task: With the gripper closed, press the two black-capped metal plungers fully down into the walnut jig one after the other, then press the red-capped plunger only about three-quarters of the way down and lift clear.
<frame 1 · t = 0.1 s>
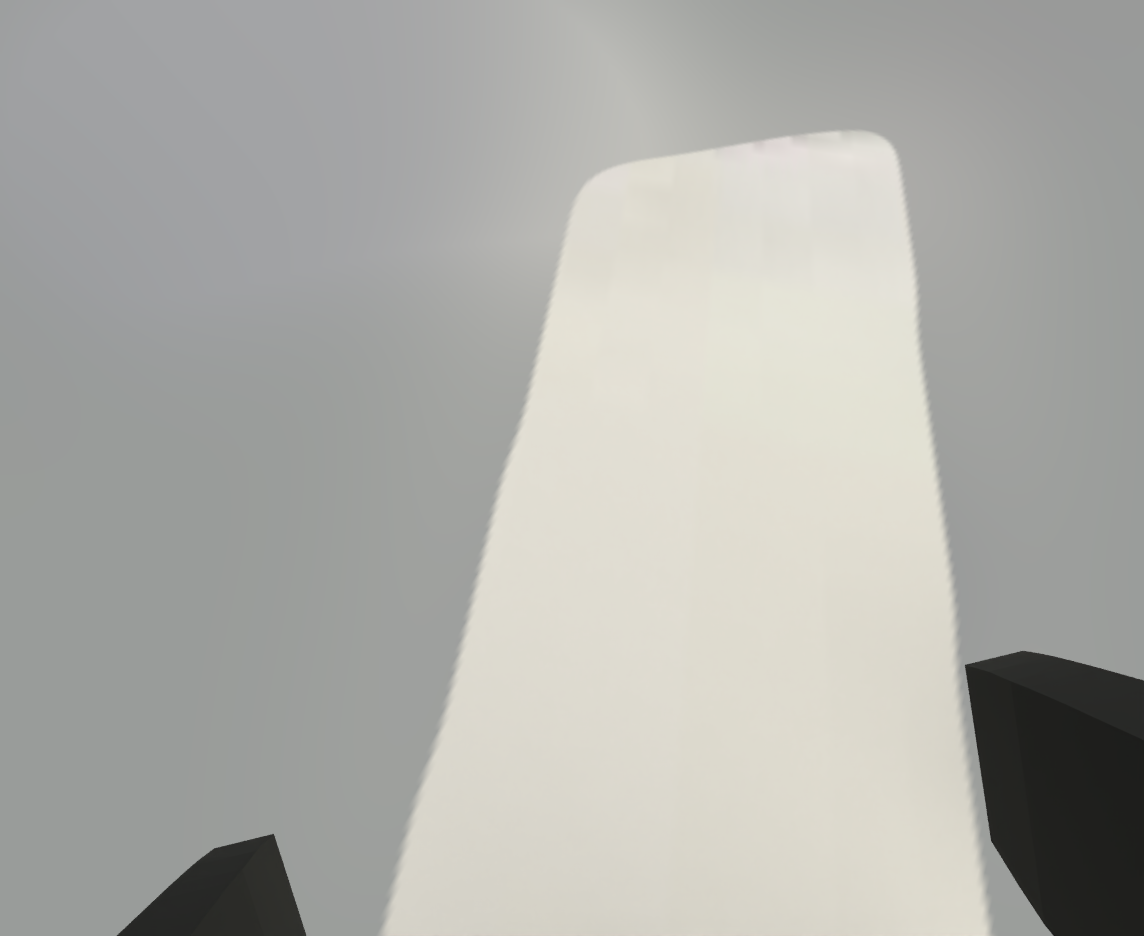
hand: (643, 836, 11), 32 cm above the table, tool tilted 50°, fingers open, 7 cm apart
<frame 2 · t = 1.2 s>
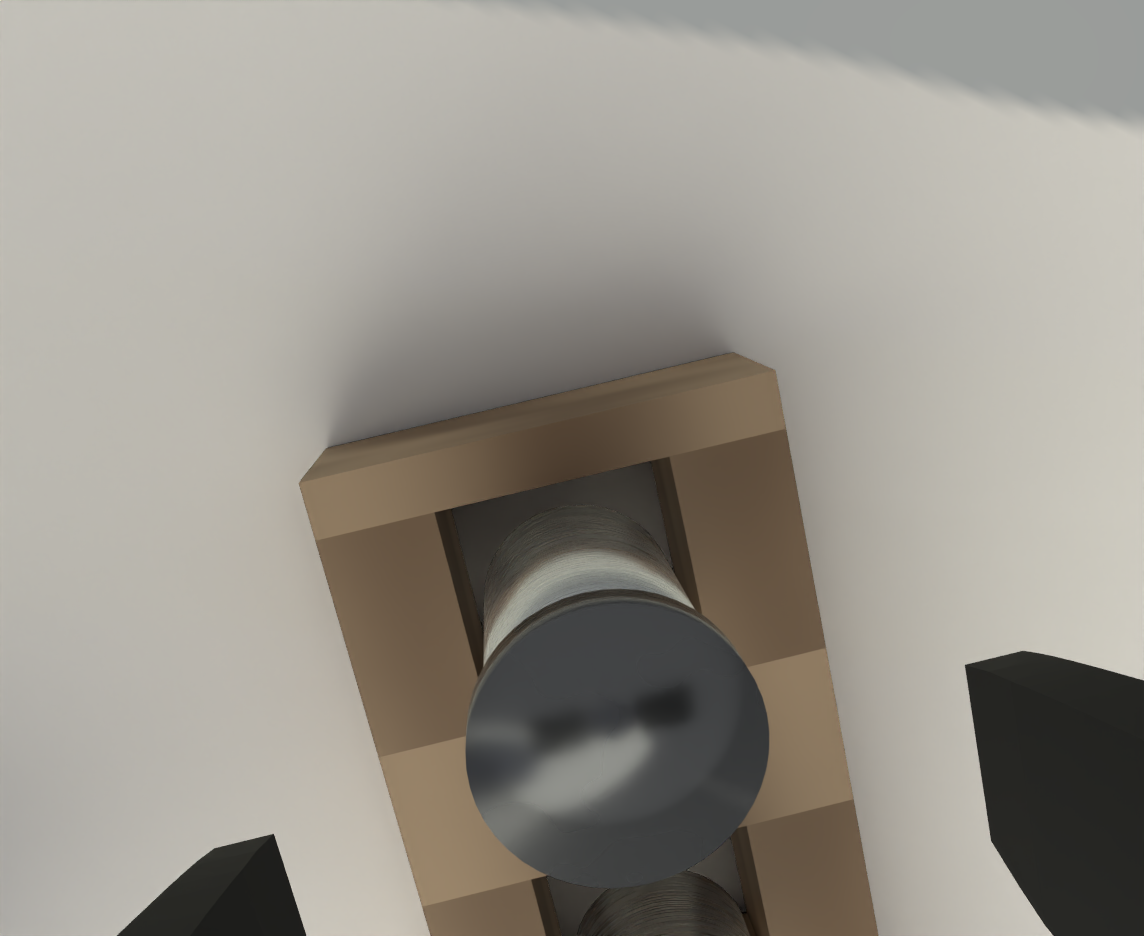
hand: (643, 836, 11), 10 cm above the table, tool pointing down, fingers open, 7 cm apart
jig: (638, 854, 22), on the table
plunger a: (595, 659, 15), point 6 cm above the table, slide at 0.0 cm
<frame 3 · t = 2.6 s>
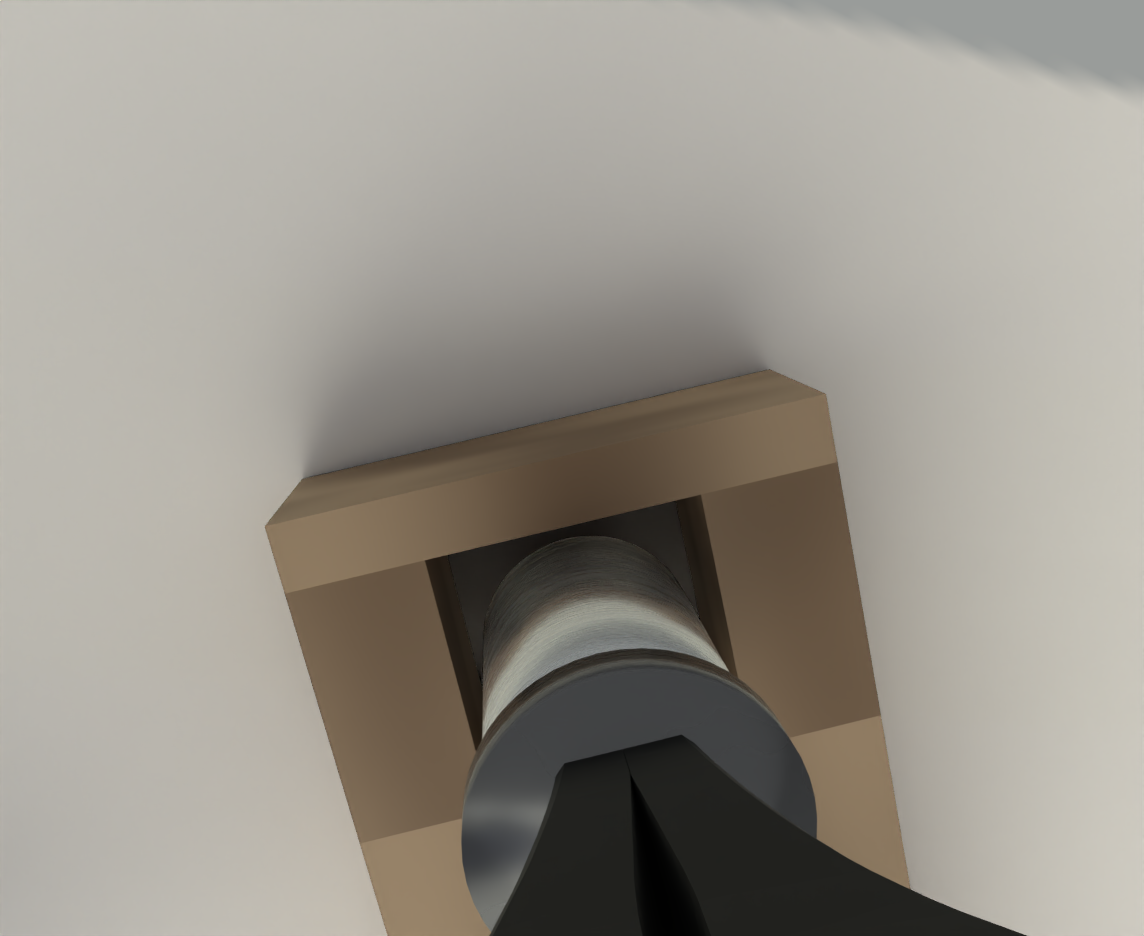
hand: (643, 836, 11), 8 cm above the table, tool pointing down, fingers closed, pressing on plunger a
plunger a: (609, 717, 13), point 5 cm above the table, slide at 0.8 cm, touching gripper
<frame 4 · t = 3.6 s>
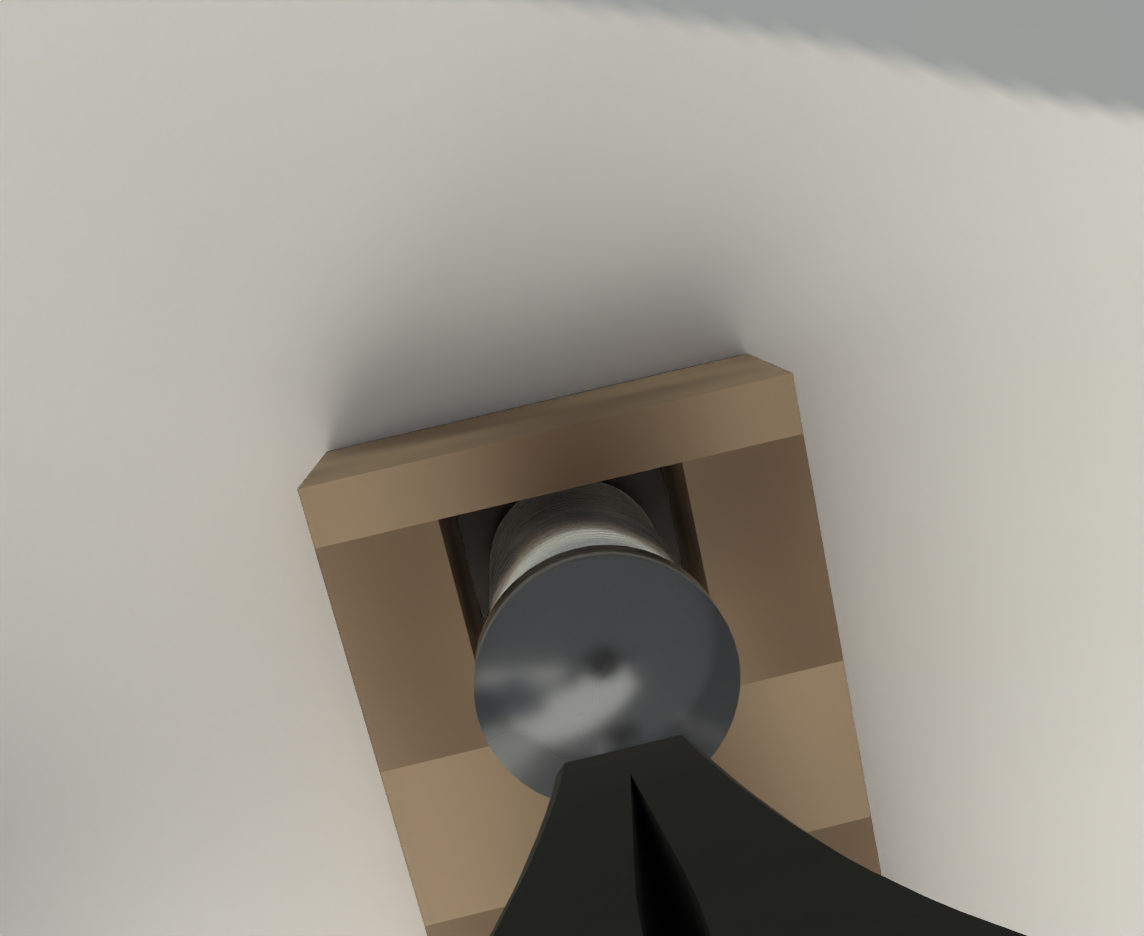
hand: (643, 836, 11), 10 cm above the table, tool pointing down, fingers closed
jig: (647, 870, 22), on the table
plunger a: (589, 614, 17), point 3 cm above the table, slide at 2.4 cm
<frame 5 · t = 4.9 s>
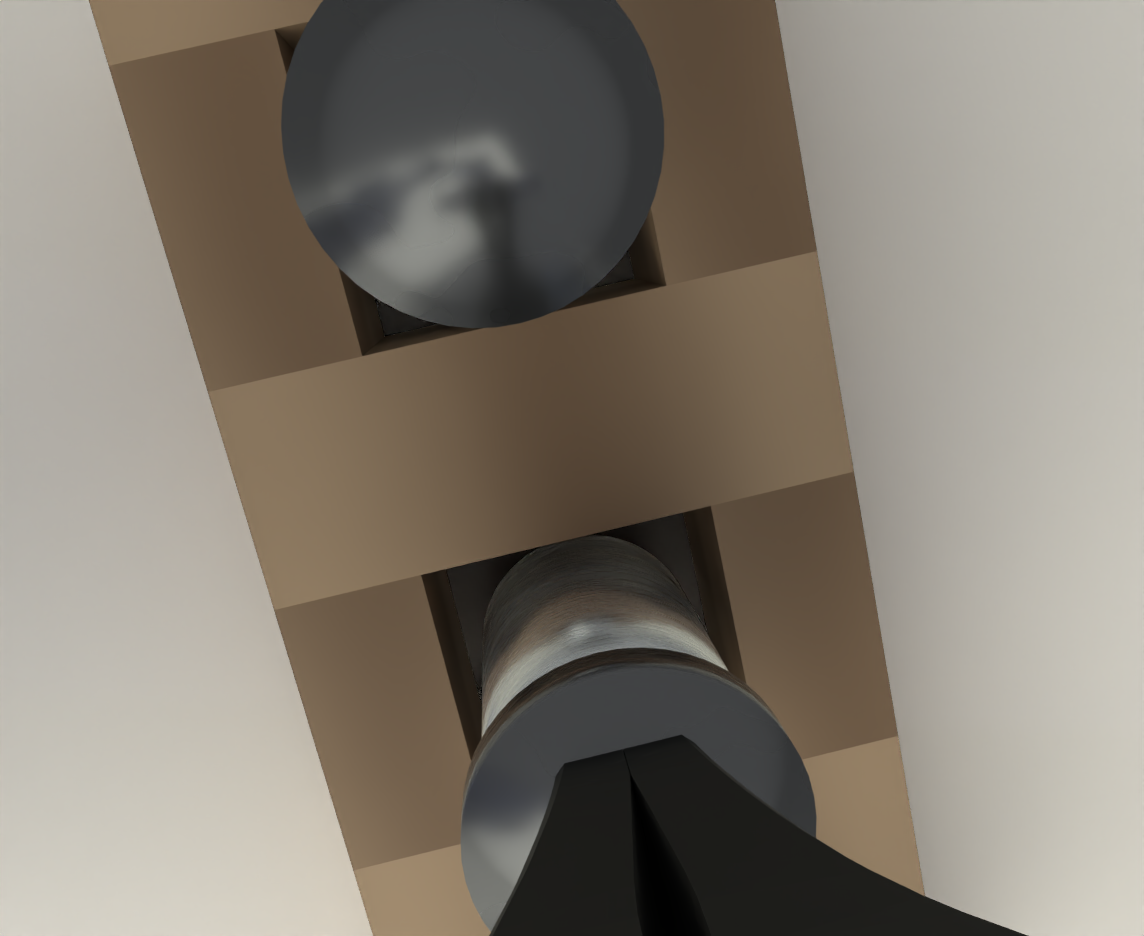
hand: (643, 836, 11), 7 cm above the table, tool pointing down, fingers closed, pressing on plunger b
jig: (579, 603, 17), on the table
plunger a: (477, 160, 13), point 3 cm above the table, slide at 2.4 cm
plunger b: (608, 716, 13), point 4 cm above the table, slide at 1.5 cm, touching gripper
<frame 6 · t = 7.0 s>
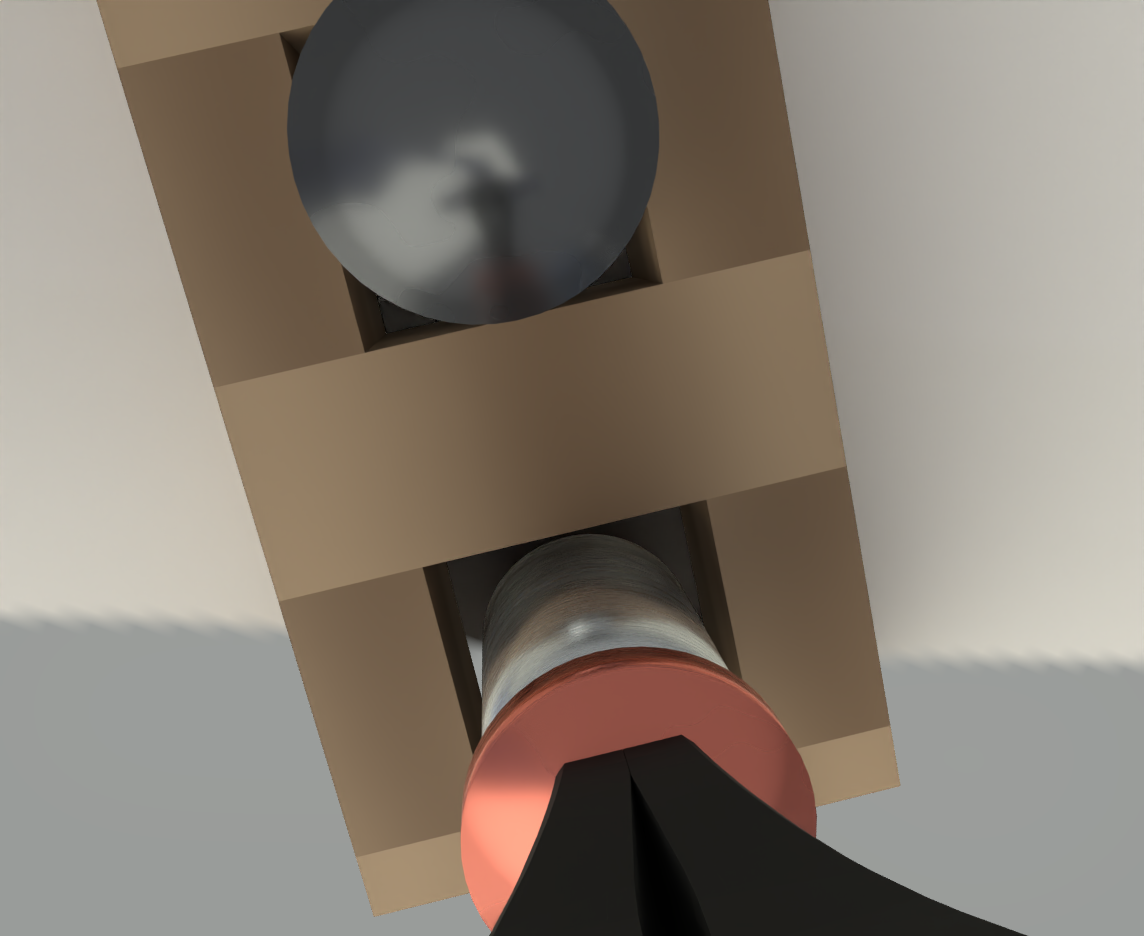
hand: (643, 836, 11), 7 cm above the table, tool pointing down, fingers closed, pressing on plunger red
plunger red: (609, 715, 13), point 5 cm above the table, slide at 1.2 cm, touching gripper
jig: (479, 177, 16), on the table
plunger b: (478, 160, 13), point 3 cm above the table, slide at 2.4 cm
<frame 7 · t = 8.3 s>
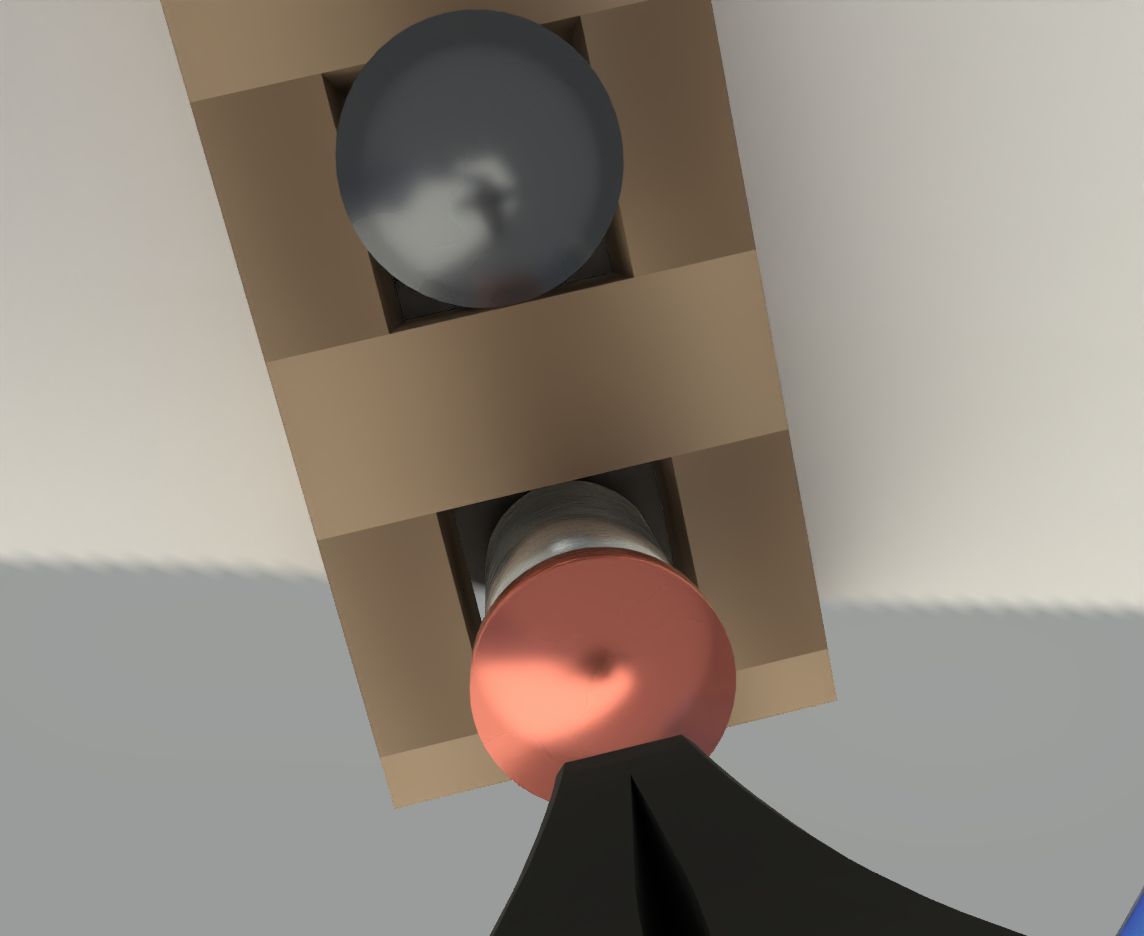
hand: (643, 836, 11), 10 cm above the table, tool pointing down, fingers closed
plunger red: (585, 616, 17), point 4 cm above the table, slide at 1.8 cm
jig: (483, 188, 19), on the table
plunger b: (482, 177, 16), point 3 cm above the table, slide at 2.4 cm
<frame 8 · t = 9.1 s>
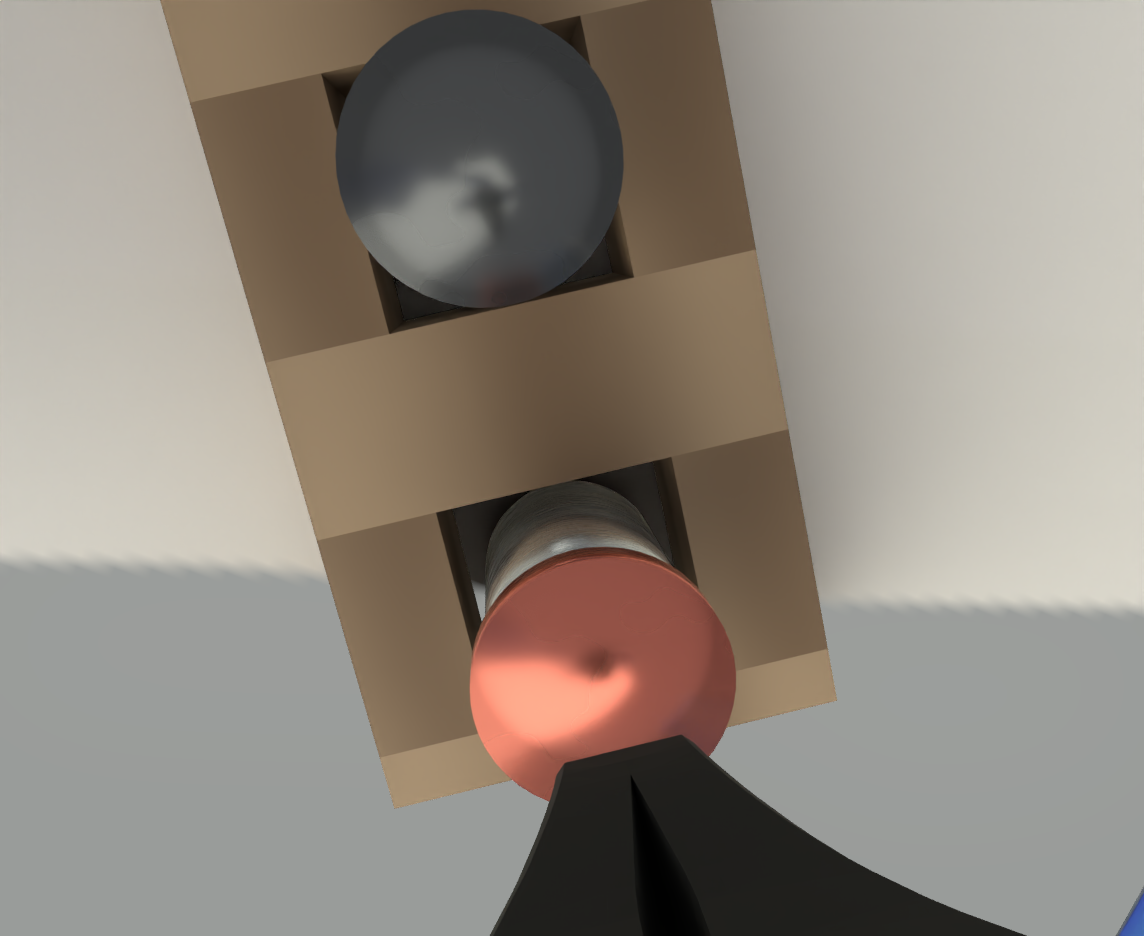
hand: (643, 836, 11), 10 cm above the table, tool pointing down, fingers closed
plunger red: (585, 616, 17), point 4 cm above the table, slide at 1.8 cm
jig: (483, 188, 19), on the table
plunger b: (482, 177, 16), point 3 cm above the table, slide at 2.4 cm
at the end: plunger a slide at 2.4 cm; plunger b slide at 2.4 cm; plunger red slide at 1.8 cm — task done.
